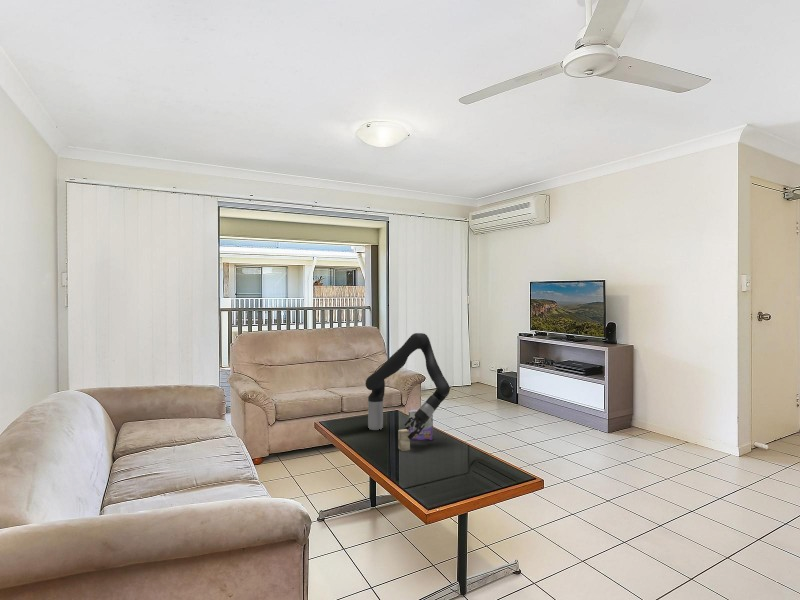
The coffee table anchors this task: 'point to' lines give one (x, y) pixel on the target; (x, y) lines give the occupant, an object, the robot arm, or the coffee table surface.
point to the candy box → (426, 431)
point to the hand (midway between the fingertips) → (405, 436)
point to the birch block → (403, 440)
